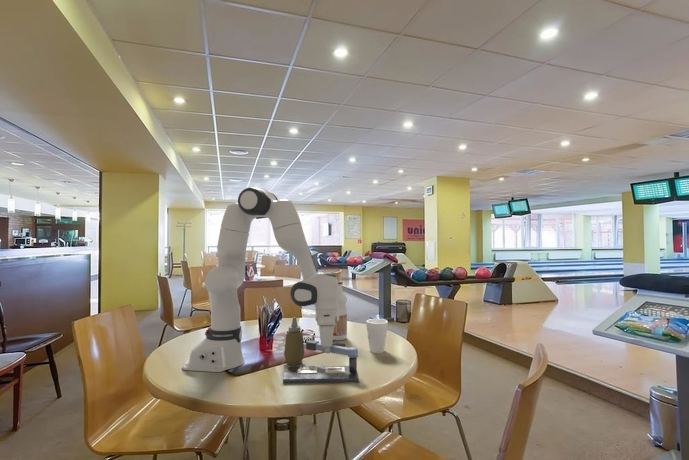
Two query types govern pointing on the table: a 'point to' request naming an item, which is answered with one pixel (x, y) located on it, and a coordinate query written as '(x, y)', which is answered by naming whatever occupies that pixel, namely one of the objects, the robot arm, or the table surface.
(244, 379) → the table surface
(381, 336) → the foam cup
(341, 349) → the swing arm
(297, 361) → the squeeze bottle
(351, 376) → the switch panel
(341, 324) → the fruit juice
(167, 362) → the table surface
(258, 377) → the table surface
